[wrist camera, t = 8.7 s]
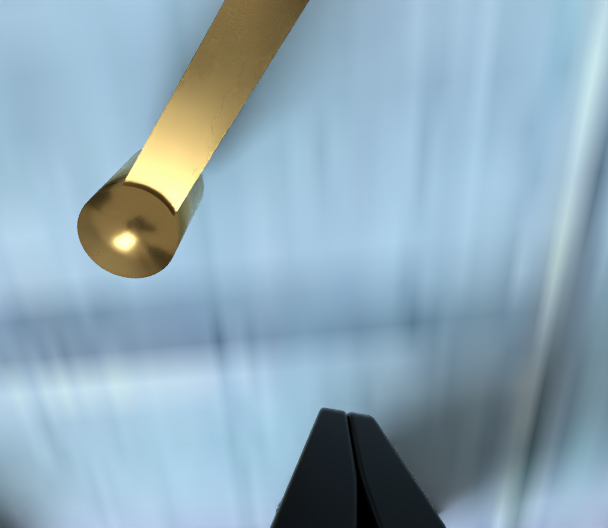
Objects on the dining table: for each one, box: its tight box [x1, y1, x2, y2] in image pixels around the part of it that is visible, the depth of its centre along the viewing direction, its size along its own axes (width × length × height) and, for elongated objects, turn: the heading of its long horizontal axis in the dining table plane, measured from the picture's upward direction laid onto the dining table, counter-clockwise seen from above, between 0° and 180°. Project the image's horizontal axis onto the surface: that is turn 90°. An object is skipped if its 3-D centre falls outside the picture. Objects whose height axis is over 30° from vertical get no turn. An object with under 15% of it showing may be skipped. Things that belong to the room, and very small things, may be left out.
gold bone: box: [77, 0, 309, 278], centre depth 13 cm, size 14×3×4 cm, turn 145°
